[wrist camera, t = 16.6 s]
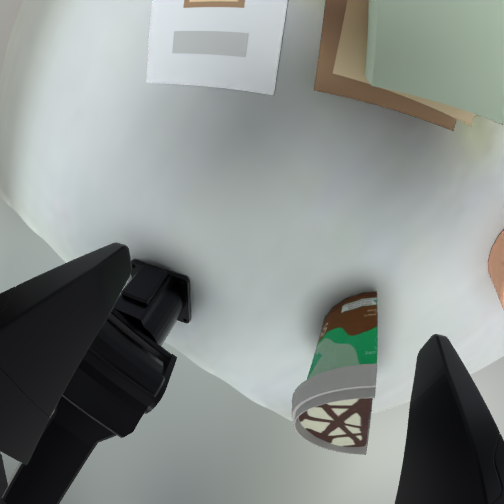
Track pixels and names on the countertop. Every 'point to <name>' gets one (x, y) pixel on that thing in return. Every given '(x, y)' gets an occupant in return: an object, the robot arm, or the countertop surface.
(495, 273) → the pepper shaker
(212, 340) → the countertop surface
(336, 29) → the walnut base
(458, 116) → the oak brick
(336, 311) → the food container
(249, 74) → the page
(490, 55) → the sage brick
